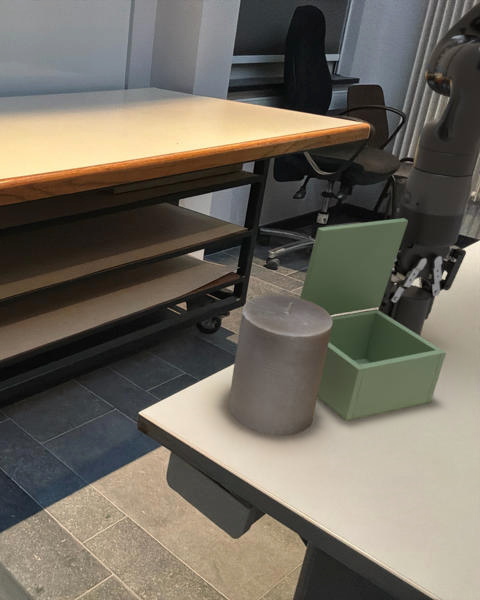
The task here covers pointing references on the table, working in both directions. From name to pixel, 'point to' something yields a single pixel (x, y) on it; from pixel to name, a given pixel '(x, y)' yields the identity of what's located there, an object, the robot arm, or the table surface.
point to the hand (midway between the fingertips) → (402, 319)
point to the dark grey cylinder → (412, 308)
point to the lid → (352, 265)
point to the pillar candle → (279, 364)
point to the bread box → (377, 366)
